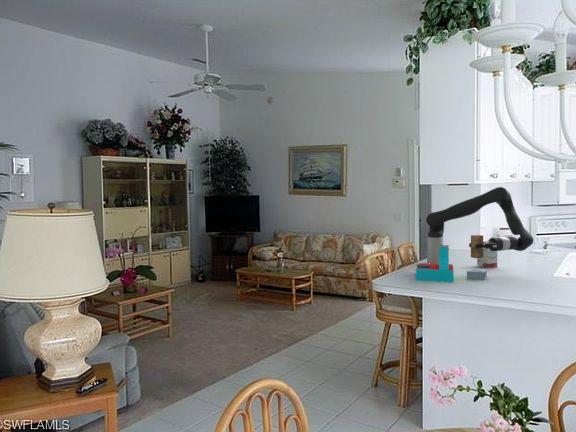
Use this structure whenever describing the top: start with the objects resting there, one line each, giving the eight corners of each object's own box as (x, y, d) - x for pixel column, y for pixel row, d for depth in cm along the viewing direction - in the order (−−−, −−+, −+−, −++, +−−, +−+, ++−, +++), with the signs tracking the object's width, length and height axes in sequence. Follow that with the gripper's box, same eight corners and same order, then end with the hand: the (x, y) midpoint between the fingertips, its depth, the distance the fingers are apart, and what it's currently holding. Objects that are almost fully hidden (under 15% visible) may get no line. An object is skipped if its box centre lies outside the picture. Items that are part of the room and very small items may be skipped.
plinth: (466, 278, 255) (466, 271, 255) (469, 275, 263) (469, 268, 262) (484, 279, 251) (484, 272, 250) (486, 276, 258) (486, 269, 258)
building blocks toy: (452, 274, 270) (452, 242, 269) (453, 282, 246) (453, 247, 245) (418, 272, 276) (418, 241, 275) (416, 281, 252) (415, 247, 251)
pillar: (476, 258, 253) (476, 236, 253) (470, 257, 258) (470, 235, 257) (483, 257, 254) (483, 235, 254) (477, 256, 259) (477, 234, 258)
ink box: (497, 267, 289) (498, 247, 288) (487, 268, 286) (487, 248, 285) (487, 265, 297) (487, 246, 296) (476, 266, 294) (476, 247, 293)
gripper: (490, 236, 266) (464, 237, 261) (508, 238, 253) (481, 240, 248) (490, 249, 267) (464, 251, 262) (508, 252, 253) (481, 254, 248)
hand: (472, 245), depth 255 cm, fingers closed on pillar, 4 cm apart
